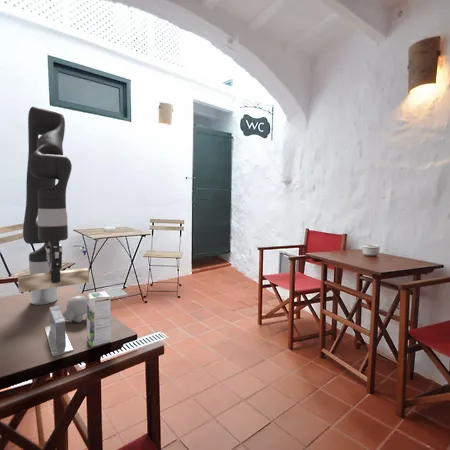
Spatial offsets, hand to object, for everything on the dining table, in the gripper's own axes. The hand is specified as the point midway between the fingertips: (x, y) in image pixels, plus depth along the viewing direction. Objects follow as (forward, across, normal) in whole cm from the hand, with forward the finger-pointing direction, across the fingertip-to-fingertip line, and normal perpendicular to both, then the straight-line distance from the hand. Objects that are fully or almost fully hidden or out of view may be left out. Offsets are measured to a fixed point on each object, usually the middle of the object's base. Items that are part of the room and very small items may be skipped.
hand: (55, 280), depth 87 cm
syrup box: (+19, -8, -10) cm, 23 cm away
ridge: (+18, 0, 0) cm, 18 cm away
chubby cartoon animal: (+19, +11, -9) cm, 24 cm away
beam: (+2, 0, 0) cm, 2 cm away
